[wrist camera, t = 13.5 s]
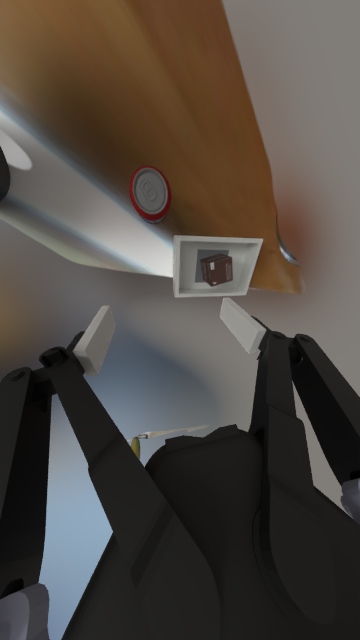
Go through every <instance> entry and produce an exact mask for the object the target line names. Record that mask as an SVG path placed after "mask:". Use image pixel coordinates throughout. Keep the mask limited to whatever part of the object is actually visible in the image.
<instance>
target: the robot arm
mask: <svg viewBox="0 0 360 640" xmlns="http://www.w3.org/2000/svg"><path fill="white" fill-rule="evenodd" d="M9 182H10V176H9V169H8V165H7V161H6V158H5V156H4V153H3V151H2V149H1V147H0V200H1V199H2V198H3V197H4V196H5V195H6V193H7V191H8V188H9ZM220 318H221V319H222V321H223V322H224V323H225V325H226V326H227V327H228V328H229V330H230V331H231V332H232V333H233V335H234V336H235V337H236V339H237V340H238V341H239V342H240V344H241V345H242V346H243V348H244V349H245V350H246V351H247V353H248V354H253V353H256V352H257V349H259V350H260V351H261V352H260V354H259V356H258V358H257V360H258V359H259V362H258V370H257V379H256V386H255V395H254V402H253V411H252V419H251V425H250V428H249V431H248V432H246V431H243V430H240V429H238V428H237V425H236V424H234V425H229V426H225V427H220V428H218V429H217V430H215V431H213V432H212V433H210V434H209V435H207V436H206V437H203V438H202V437H193V436H184V435H183V436H179V437H174V438H170V439H166V440H165V442H166V444H165V445H164V446H162V447H161V448H159V449H158V450H157V451H156V452H155V453H154V454H153V455H152V457H151V458H150V459H149V461H148V462H147V464H146V466H145V468H144V466H143V465H142V463H141V462H140V460H139V459H138V457H137V456H136V454H135V453H134V451H133V450H132V448H131V447H130V445H129V444H128V442H127V441H126V439H125V438H124V436H123V435H122V434H121V432H120V431H119V429H118V428H117V426H116V425H115V423H114V422H113V420H112V419H111V417H110V416H109V414H108V413H107V411H106V410H105V408H104V407H103V406H102V404H101V402H100V401H99V399H98V398H97V396H96V395H95V393H94V392H93V390H92V389H91V387H90V386H89V384H88V383H87V382H86V380H85V379H84V377H83V374H84V372H85V373H86V374H87V376H92V375H98V374H99V370H100V368H101V366H102V363H103V360H104V357H105V355H106V352H107V349H108V347H109V344H110V341H111V338H112V336H113V333H114V330H115V328H116V324H115V321H114V318H113V315H112V311H111V308H110V306H102V307H101V309H100V310H99V312H98V314H97V315H96V316H95V318H94V319H93V321H92V322H91V324H90V325H89V327H88V328H87V330H86V331H82V332H80V333H79V334H77V335H76V336H75V337H74V339H73V341H72V342H71V343H70V344H69V346H68V347H67V349H66V350H65V348H63V347H54V348H51V349H49V350H47V351H45V352H44V353H42V354H41V355H40V357H39V361H40V362H41V363H42V364H43V365H44V368H40V369H38V370H34V371H32V370H31V369H30V368H29V367H23V368H19V369H16V370H14V371H12V372H11V373H9V374H7V375H6V376H5V377H4V378H3V379H2V380H1V382H0V640H50V639H49V635H48V628H47V624H48V611H49V594H48V590H47V588H46V587H45V585H43V584H40V583H38V582H39V576H40V570H41V565H42V559H43V551H44V541H45V527H46V505H47V486H48V485H47V484H48V465H49V443H50V423H51V401H52V395H54V394H56V393H57V394H58V397H59V399H60V401H61V403H62V406H63V408H64V410H65V412H66V415H67V417H68V419H69V421H70V424H71V426H72V428H73V430H74V433H75V435H76V437H77V440H78V442H79V444H80V446H81V449H82V451H83V453H84V455H85V457H86V460H87V462H88V466H89V467H88V472H89V476H90V478H91V481H92V483H93V485H94V488H95V490H96V492H97V495H98V497H99V499H100V502H101V504H102V507H103V509H104V511H105V513H106V516H107V518H108V520H109V523H110V525H111V527H112V530H113V533H112V535H111V537H110V540H109V542H108V544H107V546H106V548H105V550H104V552H103V554H102V556H101V558H100V560H99V562H98V565H97V566H96V569H95V571H94V573H93V575H92V577H91V579H90V581H89V583H88V585H87V587H86V589H85V591H84V593H83V595H82V598H81V599H80V602H79V604H78V606H77V608H76V610H75V612H74V614H73V616H72V618H71V620H70V622H69V624H68V626H67V628H66V630H65V633H64V635H63V637H62V639H61V640H360V397H359V396H358V395H357V393H356V392H355V391H354V390H353V388H352V387H351V386H350V385H349V383H348V382H347V381H346V380H345V378H344V377H343V376H342V375H341V373H340V372H339V371H338V369H337V368H336V367H335V366H334V364H333V363H332V362H331V361H330V359H329V358H328V357H327V356H326V354H325V353H324V352H323V350H322V349H321V348H320V347H319V345H318V344H317V343H316V342H315V341H314V340H313V338H311V337H309V336H307V335H304V334H296V336H295V337H294V338H288V337H286V336H285V335H284V334H282V333H280V332H276V331H271V330H270V329H269V328H268V327H266V326H265V325H264V324H263V323H262V322H260V321H259V320H258V319H257V318H255V317H253V316H250V315H249V314H247V313H246V312H245V311H244V310H243V309H242V308H241V307H239V306H238V305H237V304H236V303H235V302H234V301H232V300H231V299H230V298H229V297H228V298H223V302H222V307H221V312H220ZM292 381H293V383H294V385H295V387H296V390H297V392H298V395H299V397H300V399H301V401H302V404H303V406H304V408H305V411H306V413H307V415H308V418H309V420H310V422H311V425H312V427H313V429H314V432H315V434H316V436H317V439H318V441H319V443H320V445H321V448H322V450H323V453H324V455H325V457H326V459H327V461H328V463H329V465H330V467H331V469H332V471H333V473H334V475H335V476H336V478H337V480H338V482H339V483H340V485H341V487H342V493H343V496H341V503H342V506H343V507H344V509H345V510H346V512H347V513H348V514H349V515H350V516H351V517H352V518H353V519H352V518H351V517H350V516H349V515H348V514H346V513H345V512H344V511H343V510H342V509H341V508H339V507H338V506H337V505H336V504H335V503H334V502H332V501H331V500H330V499H329V498H328V497H326V496H325V495H324V494H323V493H322V492H321V491H319V490H318V489H317V488H316V487H315V486H314V485H313V480H312V473H311V467H310V460H309V454H308V447H307V440H306V434H305V427H304V424H303V422H302V420H300V419H298V418H297V417H296V409H295V401H294V393H293V384H292Z"/></svg>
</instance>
